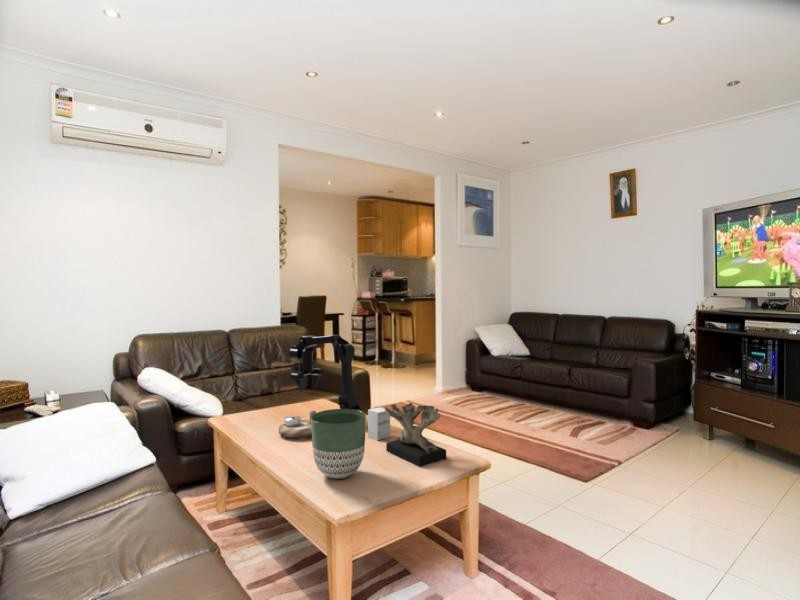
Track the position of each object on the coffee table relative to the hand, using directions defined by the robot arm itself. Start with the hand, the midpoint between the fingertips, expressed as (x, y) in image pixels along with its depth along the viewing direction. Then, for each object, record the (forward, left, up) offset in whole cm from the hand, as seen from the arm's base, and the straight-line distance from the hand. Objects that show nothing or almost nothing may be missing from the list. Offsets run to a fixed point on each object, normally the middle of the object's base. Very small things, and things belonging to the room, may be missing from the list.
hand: (307, 390), depth 233 cm
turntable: (-14, +20, -13) cm, 28 cm away
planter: (-59, +48, -15) cm, 78 cm away
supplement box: (-48, +6, -15) cm, 51 cm away
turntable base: (-14, +20, -15) cm, 28 cm away
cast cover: (-9, +20, -11) cm, 24 cm away
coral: (-73, +20, -15) cm, 77 cm away
